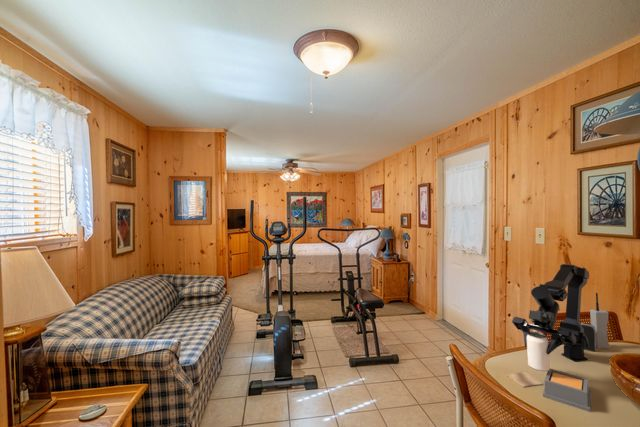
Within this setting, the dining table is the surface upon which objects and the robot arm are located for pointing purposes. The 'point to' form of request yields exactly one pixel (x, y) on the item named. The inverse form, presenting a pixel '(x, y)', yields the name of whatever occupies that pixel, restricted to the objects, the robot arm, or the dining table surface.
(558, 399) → the grey open box
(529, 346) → the can
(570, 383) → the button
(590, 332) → the battery
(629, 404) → the dining table surface
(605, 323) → the vintage mobile phone
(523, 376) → the tan wavy cloth
